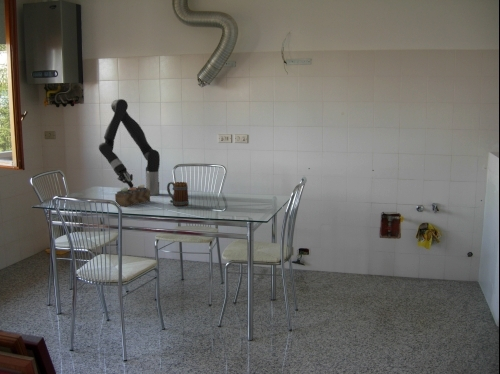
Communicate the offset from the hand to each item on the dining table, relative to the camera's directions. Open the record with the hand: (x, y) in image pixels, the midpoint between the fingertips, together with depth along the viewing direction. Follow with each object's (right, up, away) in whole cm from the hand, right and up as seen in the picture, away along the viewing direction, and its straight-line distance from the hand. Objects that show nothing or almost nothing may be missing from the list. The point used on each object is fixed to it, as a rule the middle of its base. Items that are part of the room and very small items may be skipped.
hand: (132, 186), depth 332 cm
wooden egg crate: (0, -11, +2) cm, 11 cm away
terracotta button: (+1, -3, 0) cm, 3 cm away
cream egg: (+5, -1, +7) cm, 8 cm away
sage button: (-3, -3, -7) cm, 8 cm away
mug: (+30, -12, -1) cm, 33 cm away
